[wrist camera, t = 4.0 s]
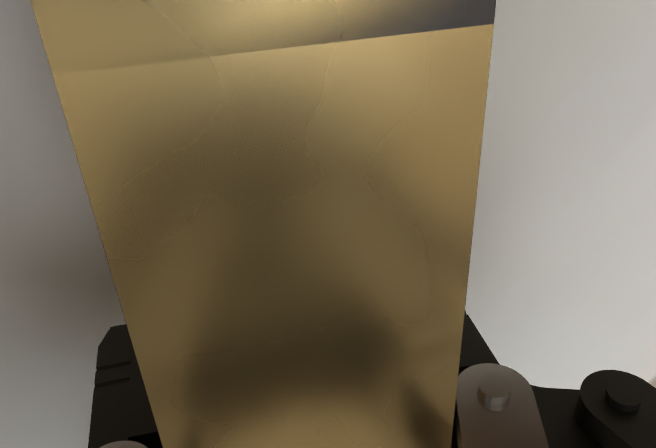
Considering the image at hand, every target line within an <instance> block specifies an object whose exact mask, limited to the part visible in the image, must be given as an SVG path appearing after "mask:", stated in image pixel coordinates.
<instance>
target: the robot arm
mask: <svg viewBox="0 0 656 448" xmlns="http://www.w3.org/2000/svg"><path fill="white" fill-rule="evenodd" d="M96 369H97V371H96V374H95V388H94V394H93V404H92V414H91V423H90V433H89V443H88V448H163V446H162V443H161V439H160V436H159V432H158V429H157V426H156V422H155V419H154V416H153V412H152V409H151V405H150V402H149V399H148V395H147V392H146V389H145V385H144V382H143V378H142V375H141V372H140V368H139V365H138V362H137V358H136V355H135V351H134V348H133V345H132V341H131V338H130V335H129V331H128V328H127V324H125V325H119V326H114V327H110V329H109V331H108V332H107V334H106V335H105V337H104V339H103V340H102V342H101V343H100V345H99V347H98V354H97V364H96ZM451 448H656V388H655V387H653V386H652V385H650V384H649V383H648V382H646V381H644V380H643V379H641V378H639V377H637V376H635V375H632V374H630V373H627V372H623V371H617V370H602V371H597V372H594V373H592V374H590V375H589V376H587V377H586V378H585V379H584V381H583V382H582V385H581V388H580V390H573V389H556V388H543V387H537V386H533V385H530V384H529V382H528V381H527V380H526V379H525V378H524V377H523V376H522V375H521V374H519V373H518V372H516V371H515V370H513V369H511V368H509V367H506V366H503V365H500V364H499V363H498V361H497V360H496V358H495V357H494V355H493V354H492V352H491V350H490V349H489V347H488V346H487V344H486V343H485V341H484V339H483V338H482V336H481V335H480V333H479V332H478V330H477V328H476V327H475V325H474V324H473V322H472V321H471V319H470V317H469V316H468V315H466V311H465V312H464V322H463V332H462V342H461V352H460V362H459V371H458V381H457V391H456V401H455V411H454V421H453V431H452V440H451Z"/></svg>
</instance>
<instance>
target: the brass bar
mask: <svg viewBox="0 0 656 448" xmlns="http://www.w3.org/2000/svg"><path fill="white" fill-rule="evenodd" d="M31 4H32V7H33V10H34V14H35V17H36V21H37V24H38V27H39V31H40V34H41V37H42V41H43V44H44V48H45V51H46V54H47V58H48V61H49V64H50V68H51V71H52V75H53V78H54V81H55V85H56V88H57V92H58V95H59V98H60V102H61V105H62V108H63V112H64V115H65V119H66V122H67V125H68V129H69V132H70V135H71V139H72V142H73V146H74V149H75V152H76V156H77V159H78V162H79V166H80V169H81V173H82V176H83V179H84V183H85V186H86V189H87V193H88V196H89V200H90V203H91V206H92V210H93V213H94V216H95V220H96V223H97V227H98V230H99V233H100V237H101V240H102V243H103V247H104V250H105V254H106V257H107V260H108V264H109V267H110V270H111V274H112V277H113V281H114V284H115V287H116V291H117V294H118V297H119V301H120V304H121V308H122V311H123V314H124V318H125V321H126V324H127V328H128V331H129V335H130V338H131V341H132V345H133V348H134V351H135V355H136V358H137V362H138V365H139V368H140V372H141V375H142V378H143V382H144V385H145V389H146V392H147V395H148V399H149V402H150V405H151V409H152V412H153V416H154V419H155V422H156V426H157V429H158V432H159V436H160V439H161V443H162V446H163V448H451V440H452V431H453V421H454V411H455V401H456V391H457V381H458V371H459V362H460V352H461V342H462V332H463V322H464V312H465V303H466V293H467V283H468V273H469V263H470V253H471V243H472V234H473V224H474V214H475V204H476V194H477V184H478V174H479V165H480V155H481V145H482V135H483V125H484V115H485V105H486V96H487V86H488V76H489V66H490V56H491V46H492V36H493V27H494V17H495V7H496V0H31Z"/></svg>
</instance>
